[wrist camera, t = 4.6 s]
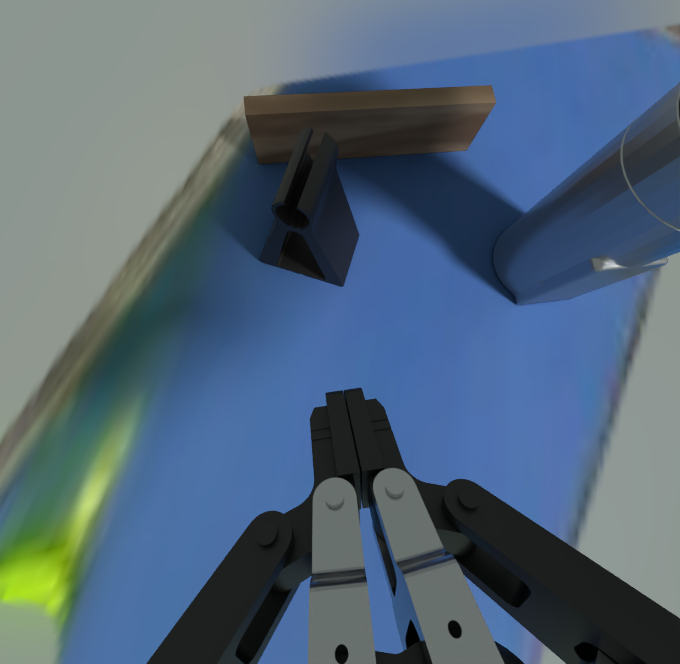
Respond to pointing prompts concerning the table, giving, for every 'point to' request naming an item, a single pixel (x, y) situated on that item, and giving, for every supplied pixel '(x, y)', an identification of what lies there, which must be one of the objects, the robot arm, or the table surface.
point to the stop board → (369, 121)
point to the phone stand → (312, 216)
